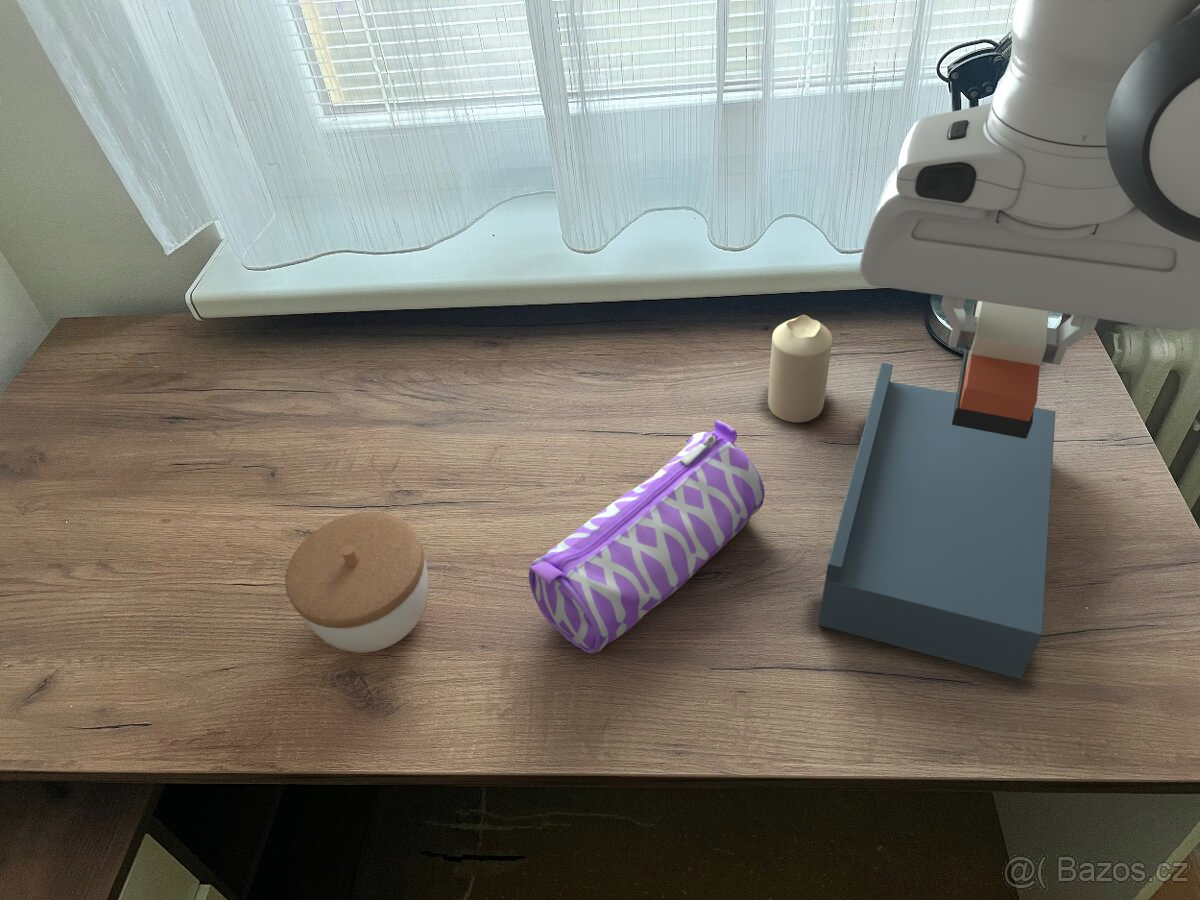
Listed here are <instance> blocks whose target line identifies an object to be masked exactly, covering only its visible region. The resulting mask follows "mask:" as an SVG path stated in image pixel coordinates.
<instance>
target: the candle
mask: <svg viewBox="0 0 1200 900" xmlns="http://www.w3.org/2000/svg"><path fill="white" fill-rule="evenodd" d="M832 346H833V334H832V332H831V331H830V329H829V328H827V327H826V326H825V325H824V324H822V323H821V322H820V321H819V320H817V319H812V318H811V317H810V316H809V315H807V314H801V315H799V316H798V317H795V318H792V319H789V320H786V321H784V322H782V323H780V324H779V325H777V327H776V328H775V329H774V330H773V332H772V337H771V351H770V363H769V366H770V367H769V379H768V390H767V391H768V392H767V405H768V408H769V410H770V412H771V413H772V414H773V415H774V416H775V417H777V418H779V419H780V420H783V421H785V422H788V423H789V422H791V423H805V422H809V421H812V420H814V419H815V418H817V417H818V416H819V415H820V414H821V413H822V411H823V409H824V404H825V399H826V391H827V385H828V377H829V368H830V361H831V353H832Z"/></svg>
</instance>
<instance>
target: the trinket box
mask: <svg viewBox="0 0 1200 900" xmlns="http://www.w3.org/2000/svg"><path fill="white" fill-rule="evenodd" d="M424 553H425V552H424V548H423V544H422V542H421V540H420V536H419V534H418V533H417V532H416V530H415V529H414V528H413V526H411V525H410V524H409V523H408V522H406V521H405V520H404V519H401V518H400V517H399V516H398V517H397V516H396V515H392V514H389V513H385V512H376V511H365V512H357V513H352V514H347V515H344V516H340V517H338V518H336V519H333V520H331V521H329V522H328V523H325V524H324V525H322V526H320V527H319V528H317V529H316V530H315V531H313V532H312V533H311V534H310V535H308V536H307V537H306V538H305V539H304V540H303V541H302V543H300V544H299V546H298V547H297V549H296V550H294V553H293V555H292V557H291V558H290V560H289V562H288V565H287V568H286V571H285V578H284V580H285V581H284V582H285V583H284V584H285V591H286V595H287V597H288V599H289V601H290V603H291V605H292V607H293V609H295V610H296V612H297V613H298V614H299V616H300V617H301V619H302V621H304V623H305V624H306V625H307V626H308V628H309V629H310V630H311V631H312V632H313V633H314V634H315V636H318V637H319V639H321V640H322V641H324V642H325V643H326V644H328V645H330V646H332V647H334V648H336V649H339V650H341V651H345V652H349V653H373V652H377V651H380V650H384V649H387V648H390V647H391V646H394V645H395V644H396V643H398V642H400V641H401V640H403V639H404V638H405V637H406V636H407V635H408V634H410V633H411V632H412V631H413V630H414V628H415V627H416V626H417V625H418V623H419V621H420V620H421V618H422V616H423V614H424V612H425V610H426V607H427V603H428V600H429V595H430V577H429V569H428V564H427V560H426V557H425V554H424Z"/></svg>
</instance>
